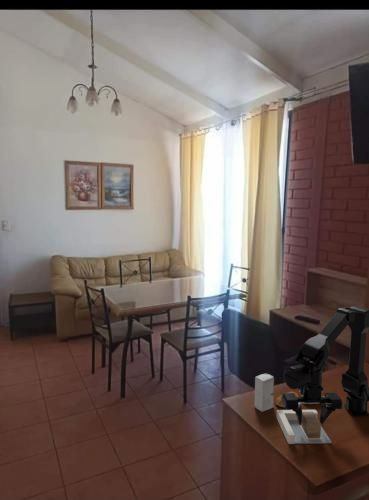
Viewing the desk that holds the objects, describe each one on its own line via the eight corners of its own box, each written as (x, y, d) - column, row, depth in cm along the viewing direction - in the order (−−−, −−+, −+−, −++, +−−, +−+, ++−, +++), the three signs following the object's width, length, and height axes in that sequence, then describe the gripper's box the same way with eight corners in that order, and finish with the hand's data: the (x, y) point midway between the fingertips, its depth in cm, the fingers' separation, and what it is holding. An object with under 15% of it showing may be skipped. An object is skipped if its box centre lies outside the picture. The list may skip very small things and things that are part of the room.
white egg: (313, 405, 136) (314, 387, 135) (295, 398, 141) (296, 381, 140) (323, 394, 143) (324, 377, 142) (305, 388, 148) (306, 372, 147)
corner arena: (315, 417, 128) (315, 409, 128) (331, 443, 114) (332, 434, 114) (276, 417, 128) (276, 410, 127) (288, 443, 114) (288, 435, 114)
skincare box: (262, 412, 131) (263, 381, 130) (253, 406, 135) (254, 376, 133) (273, 407, 135) (274, 377, 133) (265, 401, 138) (266, 372, 137)
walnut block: (320, 438, 116) (321, 424, 115) (308, 438, 116) (308, 424, 115) (312, 425, 123) (313, 411, 122) (300, 425, 123) (301, 411, 122)
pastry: (282, 411, 132) (282, 401, 132) (271, 402, 138) (271, 393, 138) (302, 405, 136) (302, 396, 136) (290, 397, 142) (290, 388, 142)
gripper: (330, 369, 125) (328, 410, 127) (277, 369, 125) (276, 410, 127) (344, 385, 114) (342, 429, 116) (287, 385, 114) (285, 430, 116)
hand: (310, 424), depth 119 cm, fingers open, 7 cm apart
